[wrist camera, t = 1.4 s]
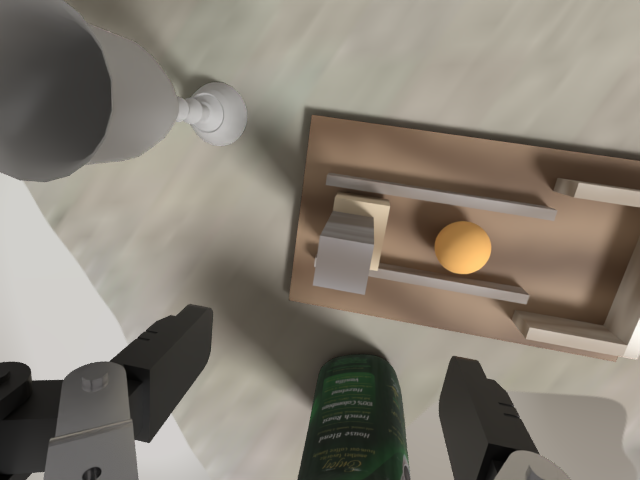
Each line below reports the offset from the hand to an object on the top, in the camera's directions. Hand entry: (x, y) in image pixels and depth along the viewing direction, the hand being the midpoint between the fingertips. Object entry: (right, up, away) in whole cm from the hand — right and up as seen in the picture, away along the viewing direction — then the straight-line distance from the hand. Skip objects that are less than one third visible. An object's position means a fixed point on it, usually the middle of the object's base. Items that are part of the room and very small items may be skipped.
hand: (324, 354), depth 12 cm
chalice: (-9, +14, +19) cm, 25 cm away
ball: (+11, +3, +16) cm, 19 cm away
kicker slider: (+3, +5, +18) cm, 19 cm away
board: (+12, +4, +18) cm, 22 cm away
